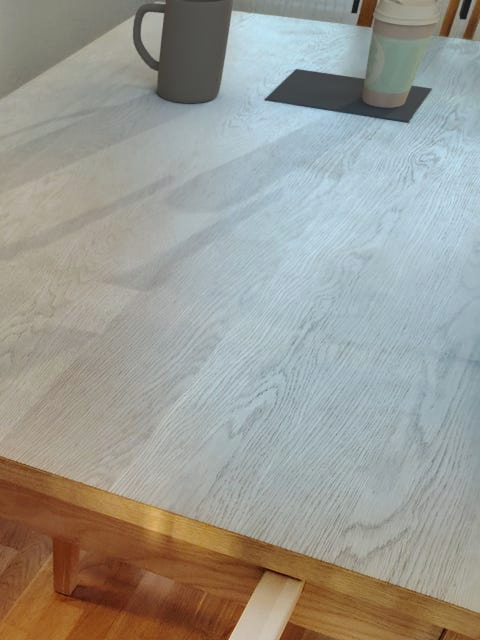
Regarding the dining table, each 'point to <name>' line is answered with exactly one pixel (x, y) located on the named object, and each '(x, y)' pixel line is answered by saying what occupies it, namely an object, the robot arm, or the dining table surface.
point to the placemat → (341, 95)
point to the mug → (188, 47)
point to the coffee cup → (397, 49)
